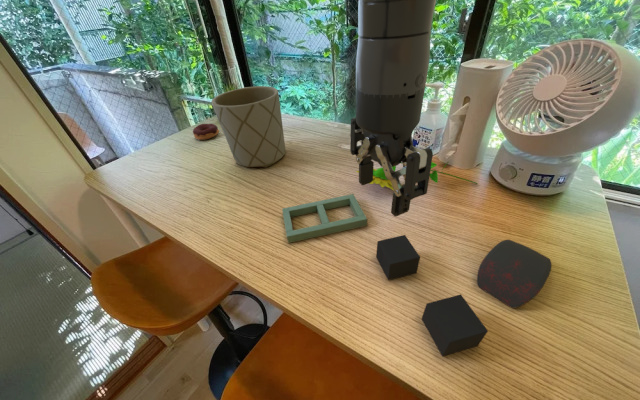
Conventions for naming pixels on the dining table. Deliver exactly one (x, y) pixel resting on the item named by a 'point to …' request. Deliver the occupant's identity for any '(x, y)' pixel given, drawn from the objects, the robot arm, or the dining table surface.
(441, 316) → the black block
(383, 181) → the flower
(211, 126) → the donut
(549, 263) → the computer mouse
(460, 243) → the dining table surface
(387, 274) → the black near-cubic block
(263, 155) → the planter
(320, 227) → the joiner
